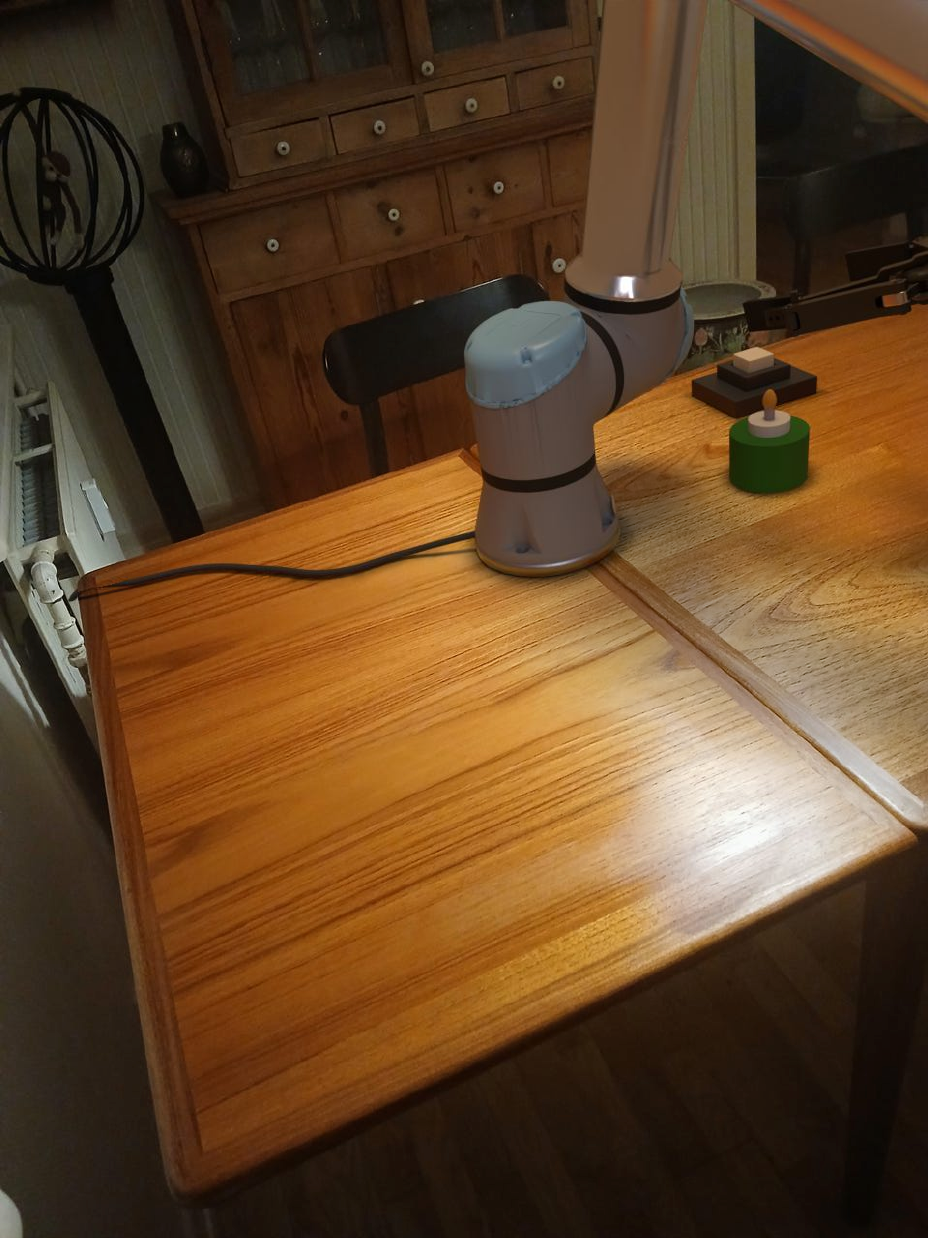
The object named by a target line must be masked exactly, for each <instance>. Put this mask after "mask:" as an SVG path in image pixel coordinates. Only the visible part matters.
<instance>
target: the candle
mask: <svg viewBox="0 0 928 1238" xmlns="http://www.w3.org/2000/svg"><path fill="white" fill-rule="evenodd" d="M776 403H777V397H776V394H775V392H774V391H773V390H771V389H769V390H767V391H766V392H765V394H764V396H763V400H762V404H763V406H764V409H763V410H760V411H757V412H754V413H751V414H750V415H749V416H747V417H744V418H742V419H740V420H738V421H735V422H734V423H733V424H732V425H731V426H730V427H729V430H728V477H729V478H728V479H729V481H730V483H731V484H732V485H733V486H734V487H735V488H737V489H739V490H743V491H745V492H750V493H755V494H777V493H783V492H784V493H785V492H788V491H791V490H794V489H796V488H799V487H800V486H801V485H803V484H804V483H805V482H806V481H807V480H808V477H809V459H810V439H811V438H810V435H811V427H810V424H809V423H808V421H806V420H805V419H803V418H801V417H798V416H795V415H791V414H789V413H788V412H785V411H782V410H777V409H776V406H777V405H776Z"/></svg>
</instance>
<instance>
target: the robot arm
mask: <svg viewBox="0 0 928 1238" xmlns="http://www.w3.org/2000/svg"><path fill="white" fill-rule="evenodd" d="M708 2H709V0H602V6H601V20H600V30H599V31H600V32H599V41H598V43H599V44H598V55H597V67H596V78H595V89H594V90H595V91H594V101H593V115H592V123H591V124H592V127H591V139H590V149H589V161H588V174H587V184H586V185H587V186H586V198H585V210H584V220H583V221H584V222H583V233H582V245H581V252H580V253H579V254H577V255H576V256H575V257H574V258H573V259H572V260H570V261H569V263H567V265H566V267H565V270H564V276H563V277H564V279H563V292H562V301H557V300H543V301H541V300H540V301H533V302H529V303H524V304H522V305H521V306H520V307H518V308H511V307H510V308H508V309H505V310H503V311H501V312H498V313H496V314H494V315H493V316H491V317H489V318H488V319H486V320H484V321H483V322H482V323H480V324H479V325H478V326H477V327H476V328H475V329H474V330H473V331H472V333H470V335H469V336H468V339H467V341H466V343H465V346H464V351H463V358H464V359H463V360H464V368H465V369H464V370H465V377H464V378H465V379H464V386H465V390H466V393H467V396H468V397H467V398H468V400H469V407H470V413H471V418H472V424H473V429H474V435H475V442H476V445H477V446H476V447H477V453H478V459H479V464H480V465H479V466H480V470H481V471H480V472H481V479H482V486H481V492H480V497H479V503H478V508H477V514H476V520H475V525H474V530H472V531H468V532H463V533H459V534H456V535H452V536H448V537H444V538H440V539H436V540H433V541H430V542H427V543H423V544H420V545H416V546H413V547H408V548H406V549H401V550H398V551H395V552H391V553H389V554H385V555H382V556H379V557H376V558H372V559H370V560H366V561H363V562H360V563H356V564H353V565H347V566H343V567H335V568H328V569H303V568H295V567H287V566H280V565H265V564H263V565H262V564H249V563H248V564H247V563H231V562H229V563H228V562H218V563H217V562H216V563H204V564H203V563H202V564H195V565H187V566H182V567H177V568H172V569H167V570H164V571H160V572H156V573H153V574H147V575H143V576H139V577H133V578H129V579H123V580H124V581H122V582H119V583H115V584H112V585H108V586H103V587H98V588H97V589H103V588H104V589H105V588H121V587H122V588H124V587H131V586H137V585H141V584H146V583H150V582H155V581H157V580H162V579H165V578H166V579H167V578H170V577H175V576H179V575H185V574H190V573H197V572H206V571H243V572H253V573H254V572H256V573H257V572H258V573H273V574H282V575H283V574H284V575H290V576H296V577H297V576H298V577H307V578H322V577H324V578H325V577H334V576H341V575H346V574H352V573H356V572H359V571H363V570H367V569H370V568H372V567H376V566H379V565H382V564H385V563H388V562H391V561H394V560H398V559H402V558H405V557H408V556H412V555H416V554H419V553H423V552H426V551H430V550H433V549H437V548H440V547H444V546H448V545H451V544H455V543H460V542H463V541H468V540H471V539H474V543H475V547H476V548H475V549H476V553H477V555H478V557H479V558H480V560H481V561H482V562H483V563H484V564H485V565H487V566H488V567H489V568H491V569H493V570H495V571H498V572H500V573H503V574H507V575H511V576H517V577H526V578H527V577H528V578H537V577H538V578H539V577H540V578H542V577H553V576H558V575H564V574H568V573H572V572H575V571H579V570H582V569H584V568H587V567H588V566H591V565H594V564H595V563H597V562H599V561H601V560H602V559H603V558H605V557H606V556H607V555H609V554H610V553H611V552H612V551H613V550H614V549H615V548H616V546H617V544H618V542H619V540H620V537H621V528H620V527H621V524H620V517H619V513H618V510H617V507H616V502H615V498H614V495H613V493H612V490H610V491H609V490H608V488H607V485H606V483H605V481H604V479H603V477H602V474H601V472H600V470H599V468H598V464H597V454H596V442H595V431H594V428H595V427H594V426H595V424H597V423H598V422H600V421H601V420H603V419H604V418H607V417H608V416H609V415H611V414H613V413H615V412H616V411H618V410H620V409H621V408H623V407H624V406H626V405H628V404H630V403H631V402H633V401H634V400H636V399H638V398H639V397H641V396H643V395H645V394H647V393H650V392H651V391H653V390H654V389H655V388H657V387H659V386H660V385H662V384H663V383H665V382H666V380H667V379H668V378H669V377H670V376H672V374H674V373H675V372H676V371H677V370H678V369H679V368H680V366H682V364H683V363H684V361H685V359H686V358H687V356H688V354H689V352H690V350H691V347H692V343H693V339H694V335H695V315H694V310H693V306H692V305H691V304H689V303H688V301H687V300H686V298H687V297H688V295H687V292H686V290H685V288H683V286H682V285H683V272H682V270H681V269H680V268H679V267H678V265H676V264H675V262H674V261H673V260H672V259H671V252H672V245H673V239H674V233H675V225H676V218H677V213H678V212H677V211H678V205H679V199H680V191H681V185H682V179H683V178H682V177H683V172H684V166H685V158H686V151H687V143H688V138H689V131H690V125H691V117H692V111H693V105H694V98H695V91H696V84H697V77H698V70H699V63H700V57H701V50H702V44H703V43H702V42H703V37H704V30H705V25H706V17H707V11H708V4H709V3H708ZM727 2H729V3H731V4H732V5H734V6H736V7H737V8H738V9H740V10H742V11H744V12H745V13H747V14H748V15H750V16H752V17H753V18H755V19H757V20H758V21H760V22H761V23H763V24H764V25H766V26H768V27H769V28H771V29H773V30H774V31H776V32H778V33H779V34H781V35H783V36H784V37H786V38H788V39H789V40H791V41H792V42H794V43H796V44H797V45H799V46H800V47H802V48H803V49H805V50H807V51H809V52H810V53H812V54H813V55H814V56H817V57H818V58H819V59H822V60H823V61H825V62H826V63H828V64H829V65H830V66H833V67H834V68H836V69H837V70H839V71H840V72H842V73H844V74H845V75H847V76H849V77H851V78H852V79H853V80H855V81H857V82H859V83H860V84H862V86H865V87H867V88H868V89H870V90H872V92H875V93H876V94H878V95H880V96H881V97H883V98H884V99H886V100H888V102H891V103H893V104H895V105H896V106H898V108H900V109H902V110H904V111H905V112H907V113H909V114H910V115H912V116H914V117H915V118H917V119H919V120H920V121H921V122H923V123H925V124H926V125H928V0H727ZM844 257H845V261H846V262H845V263H846V268H847V273H848V279H849V283H846V284H842V285H838V286H834V287H832V288H829V289H824V290H821V291H818V292H815V293H810V294H807V295H804V292H798V289H797V288H796V289H793V290H791V291H790V292H789V294H785V295H779V296H772V297H764V298H755V299H748V300H746V301H744V302H742V308H743V311H744V317H745V321H746V325H747V329H748V330H747V331H748V333H755V332H756V333H757V332H766V331H776V330H777V331H778V330H786V332H787V337H788V338H797V337H799V336H801V335H802V336H803V335H807V334H811V333H815V332H820V331H825V330H829V329H833V328H838V327H843V326H848V325H852V324H856V323H862V322H865V321H869V320H875V319H879V318H886V317H894V316H906V315H907V314H909V313H910V312H912V311H913V309H912V306H915V305H921V306H926V305H928V236H919V237H916V238H915V239H914V240H912V244H910V241H909V240H905V241H900V242H893V243H888V244H883V245H877V246H871V247H866V248H859V249H855V250H854V249H853V250H850V251H848V252H846V253H844ZM894 276H895V278H894V279H890V277H894ZM94 589H96V588H92V589H88V590H84V591H80V592H78V588H76V589H75V590H74V591H73V592H72V593H71V594H70V595H69V598H68V600H67V602H69V603H71V602H75V601H76V600H77V599H78V598H79V596H81V595H82V594H83V593H86V592H88V591H91V590H94Z"/></svg>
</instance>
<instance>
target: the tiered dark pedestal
mask: <svg viewBox="0 0 928 1238" xmlns="http://www.w3.org/2000/svg"><path fill="white" fill-rule="evenodd" d="M817 388H818V375H815V374H813V373H811V372H808V371H805V370H804V369H801V368H799V367H796V366H794V365H791V364H790V363H788V362H785V361H783V360H781V359H778V358H776V357H774V366H771V367H768V368H764V369H761V370H758V371H755V372H752V373H747V372H745V371H743V370H741V369H738V368H736V367H734V366H733V359H730V360H727V361H725V362H721V363H718V364H716V372H713V373H709V374H706V375H703V376H700V377H697V378H694V379H691V396H692V397H694V398H696V399H698V400H700V401H702V402H704V403H706V404H707V405H709V406H711V407H713V408H715V409H716V410H719V411H721V412H723V413H724V414H726V415H728V416H730V417H732V418H733V419H739V418H742V417H744V416H745V417H746V416H748V415H752V414H754V413H757V412H760V411H764V406H763V404H762V400H763V396H764V394H765V392H766V391H767V390H769V389H771V390H773V391H774V392H775V394H776V397H777V403H776V406H778V405H782V404H785V403H788V402H791V401H794V400H797V399H798V400H799V399H800V398H804V397H807V396H810V395H812V394H813V395H814V394H816V393H817V392H818V391H817V390H818V389H817Z"/></svg>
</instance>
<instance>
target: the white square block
mask: <svg viewBox="0 0 928 1238" xmlns="http://www.w3.org/2000/svg"><path fill="white" fill-rule="evenodd" d="M774 358H775V353H773V352H771V351H768V350H766V349H764V348H761V347H758V346H754V347H752V348H748V349H745V350H742V351H738V352H735V353H733V354H732V360H733V366H734V367H736V368H738V369H741V370H743V371H745V372H747V373H752V372H755V371H758V370H761V369H764V368H768V367H771V366H774Z"/></svg>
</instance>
